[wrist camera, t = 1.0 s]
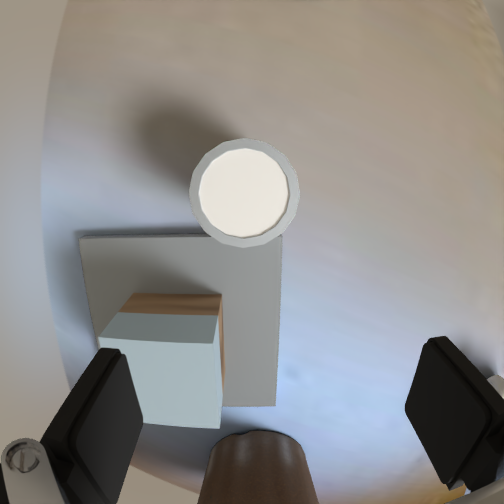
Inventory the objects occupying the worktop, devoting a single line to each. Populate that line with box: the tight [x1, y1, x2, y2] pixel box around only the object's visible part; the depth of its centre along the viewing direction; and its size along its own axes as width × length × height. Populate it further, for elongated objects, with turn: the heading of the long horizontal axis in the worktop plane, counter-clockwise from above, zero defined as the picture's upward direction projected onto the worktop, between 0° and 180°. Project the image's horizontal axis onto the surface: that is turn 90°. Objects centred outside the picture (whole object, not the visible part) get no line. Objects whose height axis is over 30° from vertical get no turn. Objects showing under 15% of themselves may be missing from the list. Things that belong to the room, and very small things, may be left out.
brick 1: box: [118, 293, 225, 392], centre depth 26 cm, size 8×8×4 cm
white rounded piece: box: [189, 138, 300, 248], centre depth 23 cm, size 7×7×7 cm
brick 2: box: [98, 312, 223, 429], centre depth 23 cm, size 8×8×4 cm
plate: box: [79, 234, 282, 407], centre depth 29 cm, size 18×18×1 cm
